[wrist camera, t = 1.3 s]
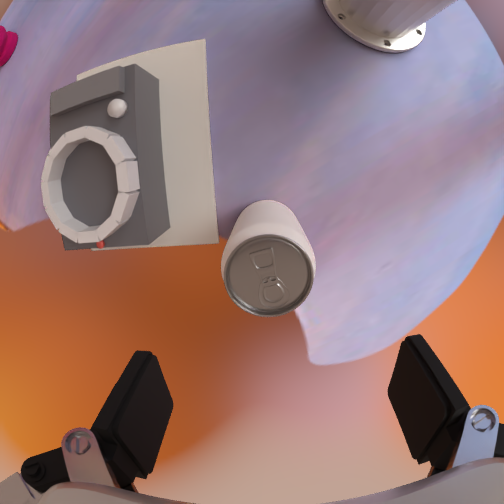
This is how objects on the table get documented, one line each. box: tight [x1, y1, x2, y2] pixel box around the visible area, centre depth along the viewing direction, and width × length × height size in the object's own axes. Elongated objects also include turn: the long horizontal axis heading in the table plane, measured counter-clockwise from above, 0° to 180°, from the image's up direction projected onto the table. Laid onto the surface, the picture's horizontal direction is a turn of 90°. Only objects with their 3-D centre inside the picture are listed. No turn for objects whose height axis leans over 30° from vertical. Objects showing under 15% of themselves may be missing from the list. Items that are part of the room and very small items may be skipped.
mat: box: [77, 39, 219, 251], centre depth 26 cm, size 22×16×1 cm
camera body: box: [41, 64, 170, 250], centre depth 22 cm, size 16×10×8 cm, turn 4°
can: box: [221, 200, 316, 317], centre depth 23 cm, size 6×6×12 cm
